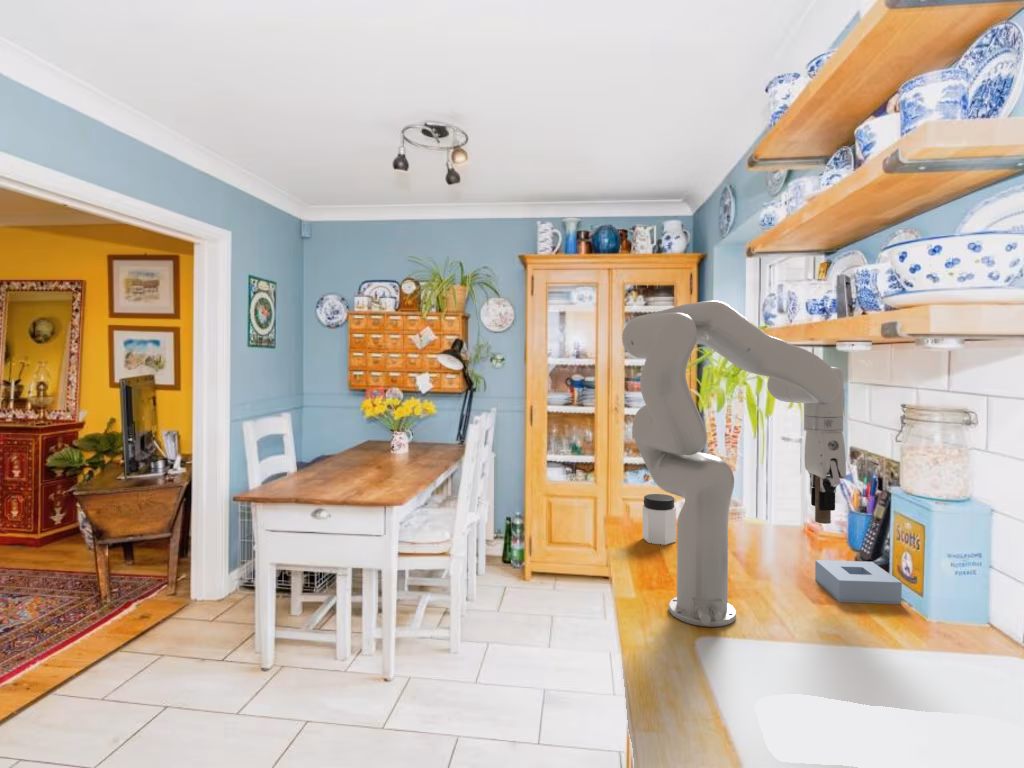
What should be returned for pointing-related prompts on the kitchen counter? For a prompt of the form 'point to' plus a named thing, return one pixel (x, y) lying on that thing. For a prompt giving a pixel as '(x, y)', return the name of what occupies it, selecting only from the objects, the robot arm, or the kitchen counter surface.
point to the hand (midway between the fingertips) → (822, 507)
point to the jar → (659, 519)
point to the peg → (820, 515)
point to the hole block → (858, 582)
